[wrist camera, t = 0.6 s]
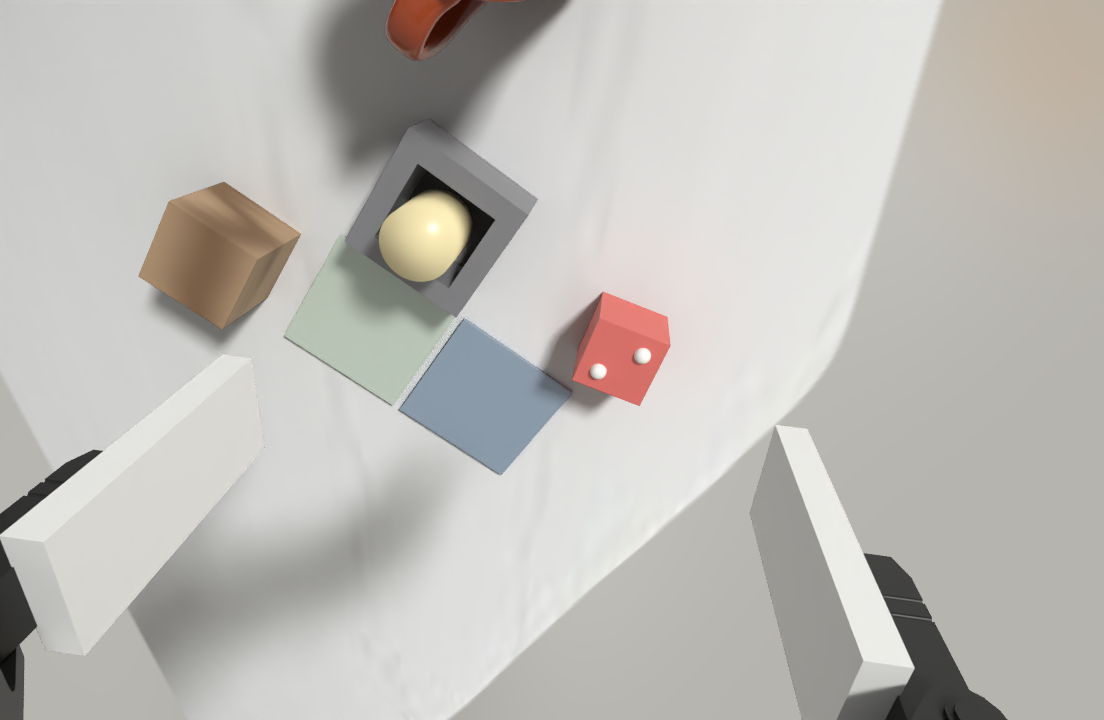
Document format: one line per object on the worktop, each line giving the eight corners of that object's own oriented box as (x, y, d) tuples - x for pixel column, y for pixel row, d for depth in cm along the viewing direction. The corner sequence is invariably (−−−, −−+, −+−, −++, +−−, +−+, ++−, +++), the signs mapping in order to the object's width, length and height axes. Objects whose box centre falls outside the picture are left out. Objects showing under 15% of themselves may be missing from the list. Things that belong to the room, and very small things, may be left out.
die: (577, 348, 39) (571, 384, 35) (603, 291, 37) (599, 321, 33) (639, 372, 40) (639, 410, 36) (667, 316, 38) (670, 349, 34)
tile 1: (286, 333, 41) (283, 335, 41) (341, 234, 38) (339, 235, 37) (394, 403, 42) (392, 405, 42) (457, 313, 39) (456, 315, 39)
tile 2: (401, 407, 42) (399, 409, 42) (464, 318, 39) (463, 320, 39) (502, 472, 44) (501, 475, 44) (571, 391, 40) (571, 393, 40)
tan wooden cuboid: (194, 249, 39) (138, 276, 35) (224, 181, 37) (168, 201, 33) (268, 297, 40) (222, 329, 36) (301, 233, 38) (257, 259, 34)
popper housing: (368, 224, 37) (344, 241, 34) (429, 119, 34) (408, 127, 31) (470, 294, 38) (456, 317, 35) (537, 199, 35) (528, 215, 32)
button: (393, 230, 34) (365, 252, 31) (427, 174, 33) (401, 190, 29) (450, 269, 35) (429, 296, 32) (485, 216, 34) (468, 238, 30)
